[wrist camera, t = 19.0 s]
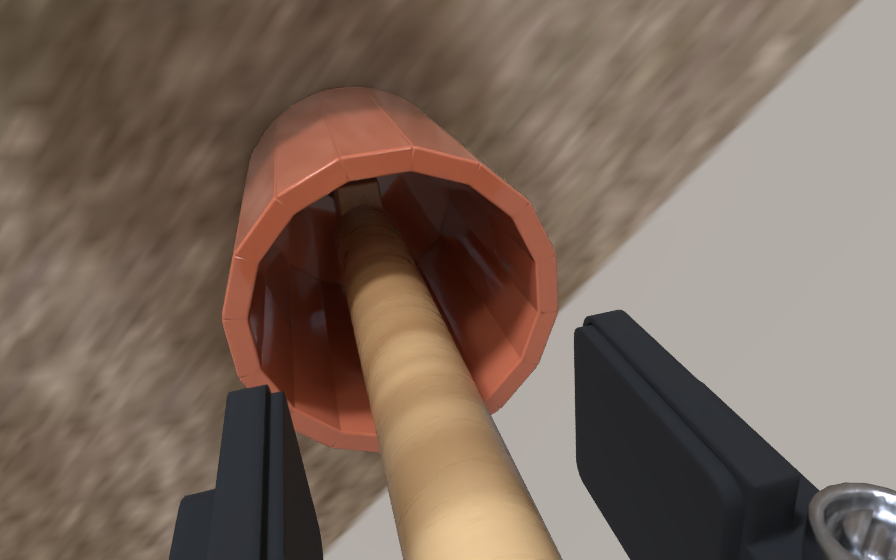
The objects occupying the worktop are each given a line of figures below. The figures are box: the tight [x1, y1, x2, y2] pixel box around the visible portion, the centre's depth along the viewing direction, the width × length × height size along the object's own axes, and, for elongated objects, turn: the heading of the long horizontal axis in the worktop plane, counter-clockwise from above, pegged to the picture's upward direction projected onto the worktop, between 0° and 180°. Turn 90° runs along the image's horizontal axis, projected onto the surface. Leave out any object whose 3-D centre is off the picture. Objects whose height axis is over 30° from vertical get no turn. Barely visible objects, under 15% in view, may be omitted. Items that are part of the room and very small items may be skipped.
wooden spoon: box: [334, 177, 562, 560], centre depth 13 cm, size 3×2×18 cm, turn 6°
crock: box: [222, 86, 558, 453], centre depth 17 cm, size 7×7×9 cm
